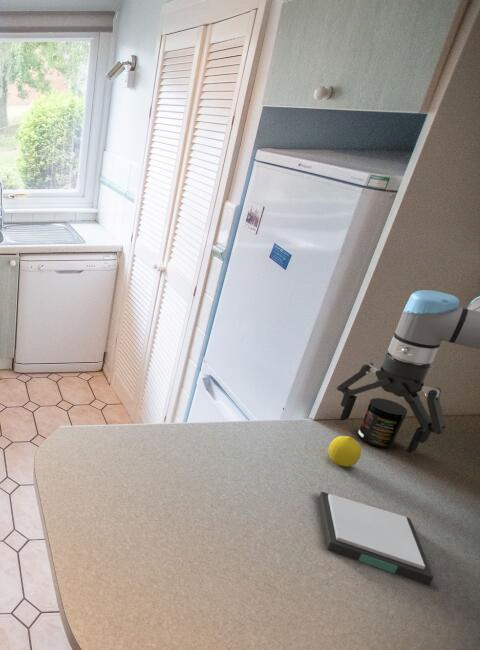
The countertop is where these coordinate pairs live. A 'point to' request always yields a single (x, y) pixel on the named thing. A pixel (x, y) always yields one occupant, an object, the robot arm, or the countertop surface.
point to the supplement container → (381, 423)
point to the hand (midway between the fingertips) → (375, 433)
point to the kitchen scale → (373, 537)
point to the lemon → (344, 451)
